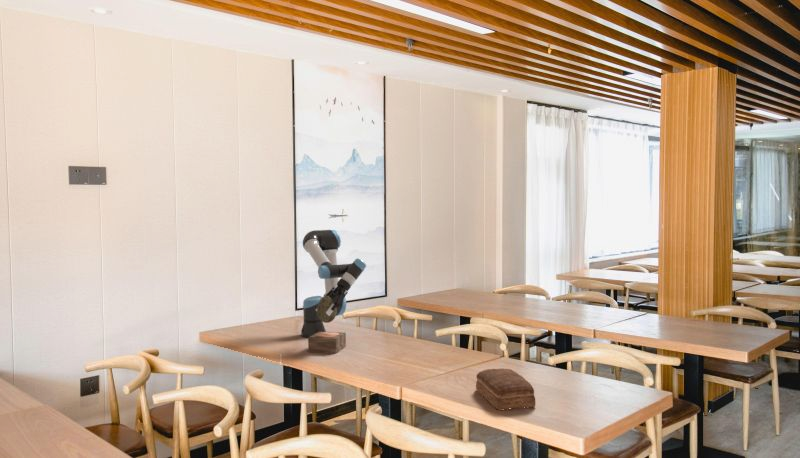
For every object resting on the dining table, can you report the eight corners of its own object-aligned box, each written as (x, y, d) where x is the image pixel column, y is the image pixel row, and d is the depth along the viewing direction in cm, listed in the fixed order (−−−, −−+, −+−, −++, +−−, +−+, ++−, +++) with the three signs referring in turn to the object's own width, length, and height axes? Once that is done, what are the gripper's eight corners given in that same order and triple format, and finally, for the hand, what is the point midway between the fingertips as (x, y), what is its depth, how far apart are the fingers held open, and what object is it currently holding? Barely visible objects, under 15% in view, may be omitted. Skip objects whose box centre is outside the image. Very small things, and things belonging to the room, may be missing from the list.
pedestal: (319, 345, 364) (318, 330, 364) (345, 346, 360) (345, 332, 360) (308, 352, 349) (308, 337, 348) (336, 353, 345) (335, 338, 344)
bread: (511, 387, 279) (510, 361, 279) (537, 409, 250) (537, 380, 250) (473, 390, 276) (473, 364, 276) (496, 412, 247) (496, 383, 247)
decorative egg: (313, 322, 354) (312, 295, 353) (329, 320, 361) (328, 293, 360) (324, 325, 346) (323, 297, 345) (340, 322, 353) (340, 295, 352)
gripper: (361, 288, 352) (337, 320, 344) (339, 284, 371) (316, 314, 363) (352, 280, 349) (328, 311, 340) (331, 276, 368) (308, 306, 359)
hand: (322, 313), depth 351 cm, fingers closed on decorative egg, 11 cm apart
